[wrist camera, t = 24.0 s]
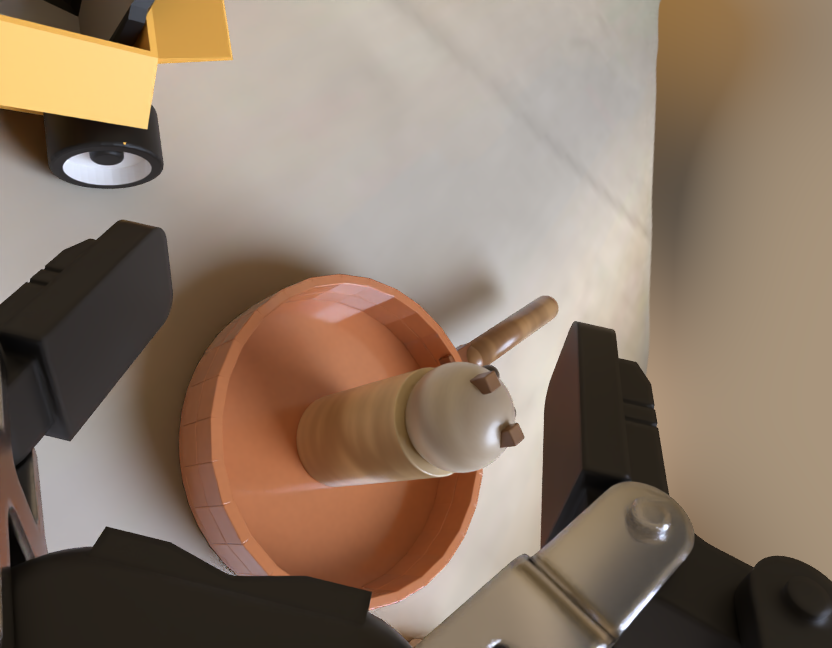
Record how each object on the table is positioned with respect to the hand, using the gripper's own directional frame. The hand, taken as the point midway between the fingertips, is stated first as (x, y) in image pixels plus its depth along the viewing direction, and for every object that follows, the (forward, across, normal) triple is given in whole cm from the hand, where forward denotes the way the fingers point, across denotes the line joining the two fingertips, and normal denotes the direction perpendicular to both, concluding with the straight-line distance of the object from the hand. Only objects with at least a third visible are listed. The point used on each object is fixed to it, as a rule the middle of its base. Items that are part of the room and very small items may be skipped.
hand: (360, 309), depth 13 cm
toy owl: (+15, +3, +22) cm, 27 cm away
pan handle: (+27, -5, +22) cm, 35 cm away
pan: (+15, +4, +22) cm, 28 cm away
